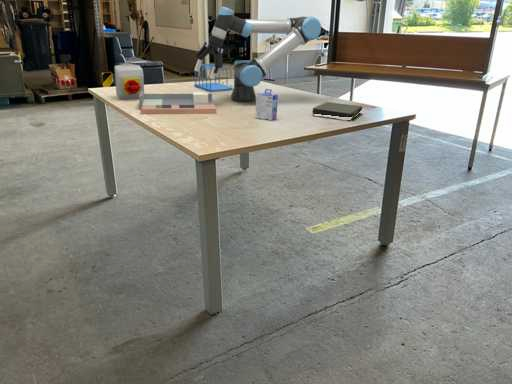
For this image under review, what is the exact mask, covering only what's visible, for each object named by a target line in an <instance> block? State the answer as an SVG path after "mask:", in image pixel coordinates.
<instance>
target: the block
mask: <svg viewBox="0 0 512 384" xmlns="http://www.w3.org/2000/svg"><path fill="white" fill-rule="evenodd" d="M192 94H193V102H194V103H208V94H209V93H208V91H193V92H192Z"/></svg>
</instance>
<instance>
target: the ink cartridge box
mask: <svg viewBox="0 0 512 384" xmlns="http://www.w3.org/2000/svg"><path fill="white" fill-rule="evenodd" d="M272 91H273V90H272V89H271V88H270V89H269V88H265V90H264V92H262V93H261V92H260V93H255V95H256V100H255V118H256V119H259V118H261V119H260V120H265V119H268V120H267V121H273V119H275V120H277V119H278V101H279V100H278V99H279V95H278V94H273V93H272ZM276 118H277V119H276Z"/></svg>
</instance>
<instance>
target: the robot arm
mask: <svg viewBox="0 0 512 384" xmlns="http://www.w3.org/2000/svg"><path fill="white" fill-rule="evenodd" d="M234 14H235V12H234V10H232V9H230V8H229V7H225V6H221V7H220V9H219V11H218V13H217V16H216V19H215V21H214V22H215V23H214V25H213V28H212V30H211V35H209V39H208V42H206V41H205V42H204V43H203V45H202V47H200V49H199V51H198V52H197V53H196V54H195V57H196V58H197V59H196V64H195V67H194V72H195V71H196V72H198V73H199V69H200V70H201V67H200V66H202V65H201V64H203V59H204V58H205V57H206V56H208V55H209V54H211V55H212V56H213V62H214V65H215V67H213V68H212V69H213V70H212V71H211V75H210V74H209V79H210V78H211V80H215V75H216V76H217V74H218V72H219V68H222V67H223V55H224V50H225V49H223V48H221V47H222V46H223V44H224V40H225V39H226V36H227V32H228V30H229V31H230V32H231V33H232V34H237V35H240V36H242V37H244V38H248V37H249V36H250V34H273V35H274V34H275V35H276V34H278V35H280V34H282V35H285V36H284V37H283V38H282V39H281V40H279V41H278V42H277V43H275V44H274V45H273V46H272V47H271V48H269V49H268V50H267V51H265V52H264V53H263V54H261V56H259V57H257V58H255V57H253V58H252V59H251V60H250V59H249V60H243V59H242V60H235V61H234V65H233V87H232V88H233V90H232V92H231V95H230V99H231V100H232V101H233V102H234V101H235V102H240V103H241V102H243V103H247V102H249V103H250V102H256V92H255V88H254V87H256V86H258V85H259V84H260V83H261V82H262V80H263V79H264V78H265V77H267V73H268V71H269V70H270V69H271V68H273V67H274V66H275V65H276V64H277V63H279V62H281V61H282V60H283V59H285V58H286V57H287V56H288V55H289V54H291V52H293V51H295V50H296V49H297V48H298V47H299V46H305V45H306V44H307V43H308V42H310V41H312V40H313V41H314V40H315V39H317V38H319V36H320V35H321V32H322V24H321V21H320V20H319V19H318V18H316V17H314V16H299V17H291V18H290V17H287V18H286V19H257V18H255V19H254V18H252V19H251V18H249V19H248V18H239V17H238V16H236V15H234Z"/></svg>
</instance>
